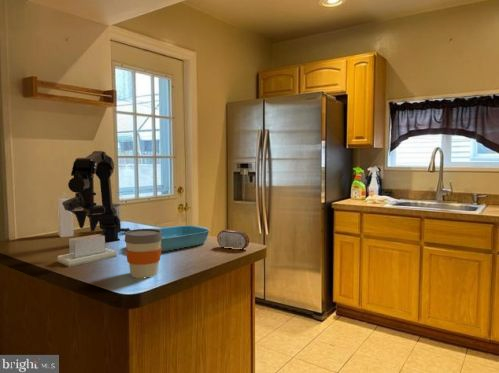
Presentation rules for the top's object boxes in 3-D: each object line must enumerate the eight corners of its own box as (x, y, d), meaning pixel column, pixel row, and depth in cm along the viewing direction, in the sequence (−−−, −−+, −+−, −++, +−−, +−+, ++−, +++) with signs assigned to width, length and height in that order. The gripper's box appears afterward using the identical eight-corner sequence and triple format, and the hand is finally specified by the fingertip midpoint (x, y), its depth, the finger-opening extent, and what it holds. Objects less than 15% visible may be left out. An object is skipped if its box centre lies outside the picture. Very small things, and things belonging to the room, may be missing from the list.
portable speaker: (249, 250, 168) (249, 231, 167) (246, 251, 165) (246, 232, 164) (219, 246, 174) (219, 228, 173) (216, 247, 171) (216, 229, 170)
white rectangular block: (69, 258, 148) (69, 238, 147) (99, 253, 157) (98, 234, 156) (75, 261, 145) (75, 240, 144) (105, 255, 154) (104, 235, 153)
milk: (60, 237, 189) (58, 193, 187) (58, 235, 194) (56, 192, 192) (73, 236, 193) (72, 192, 191) (71, 233, 198) (69, 191, 196)
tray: (104, 252, 161) (103, 247, 161) (116, 256, 155) (116, 251, 155) (57, 261, 147) (57, 256, 147) (69, 266, 141) (69, 260, 140)
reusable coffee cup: (138, 267, 140) (138, 227, 139) (169, 270, 137) (168, 229, 135) (117, 278, 128) (116, 234, 127) (150, 281, 125) (149, 237, 123)
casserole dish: (190, 236, 196) (190, 222, 195) (218, 243, 180) (218, 228, 179) (123, 248, 170) (122, 232, 169) (148, 258, 154) (148, 240, 154)
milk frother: (106, 229, 209) (105, 203, 208) (135, 229, 211) (134, 203, 209) (98, 235, 195) (97, 206, 194) (129, 235, 197) (129, 206, 195)
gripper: (54, 189, 149) (55, 229, 150) (76, 193, 137) (77, 236, 138) (82, 188, 157) (83, 225, 158) (105, 191, 145) (106, 231, 146)
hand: (86, 229), depth 150 cm, fingers open, 9 cm apart
